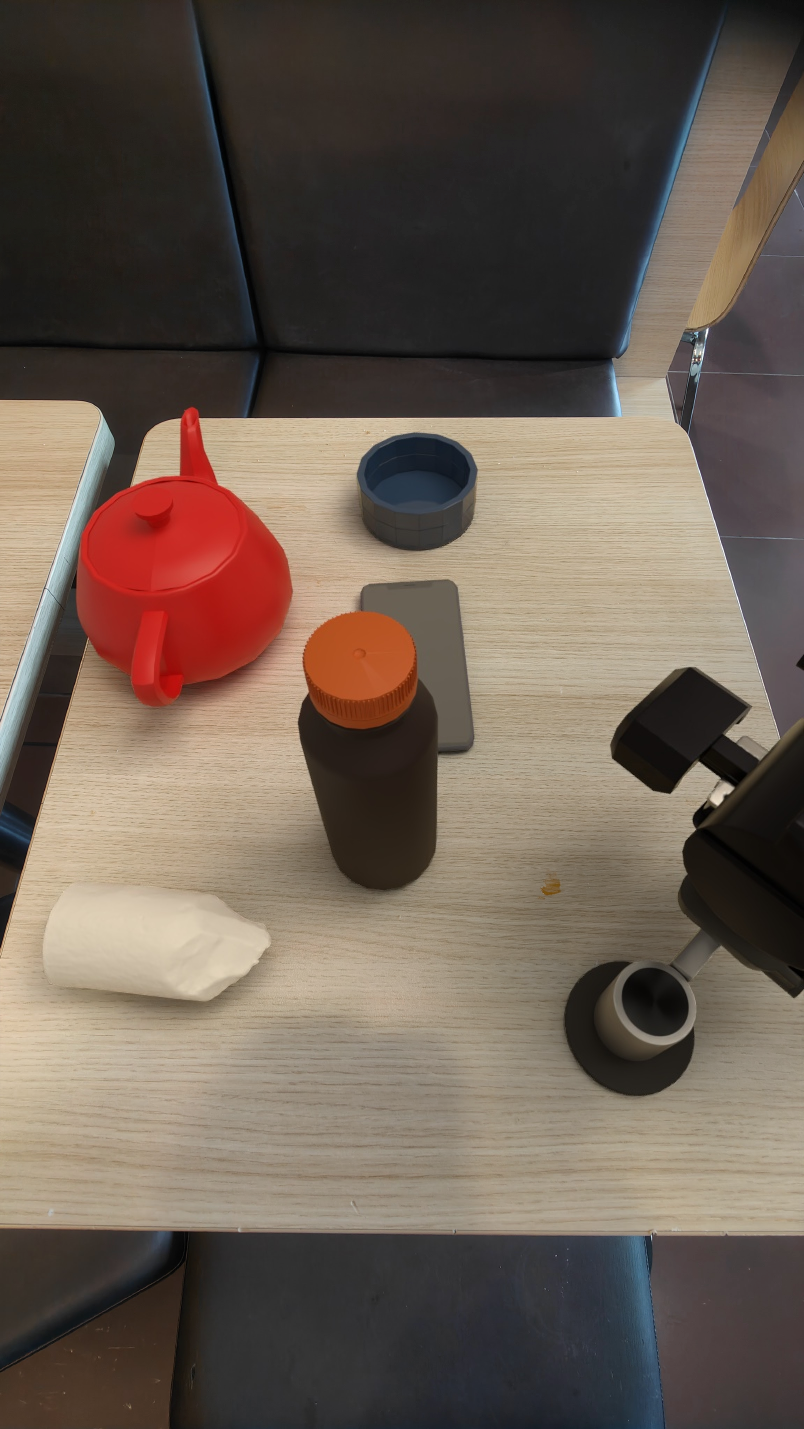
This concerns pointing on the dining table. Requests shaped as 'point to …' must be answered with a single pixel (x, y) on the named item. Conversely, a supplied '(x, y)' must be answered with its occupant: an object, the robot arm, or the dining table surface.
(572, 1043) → the coaster
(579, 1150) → the dining table surface
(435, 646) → the smartphone
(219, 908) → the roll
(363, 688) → the bottle
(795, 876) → the robot arm
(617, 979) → the scoop
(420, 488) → the bowl
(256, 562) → the teapot
